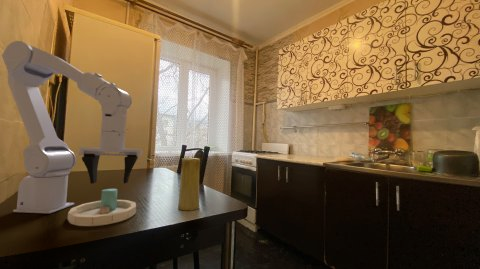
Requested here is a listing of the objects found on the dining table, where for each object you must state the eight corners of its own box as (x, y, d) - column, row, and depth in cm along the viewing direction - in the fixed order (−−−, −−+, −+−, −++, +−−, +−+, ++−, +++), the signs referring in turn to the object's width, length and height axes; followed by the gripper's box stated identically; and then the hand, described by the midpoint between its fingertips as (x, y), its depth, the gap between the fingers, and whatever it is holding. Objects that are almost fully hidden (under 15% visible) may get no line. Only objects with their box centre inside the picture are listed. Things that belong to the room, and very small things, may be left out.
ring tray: (51, 224, 46) (52, 215, 46) (96, 205, 60) (96, 198, 60) (115, 227, 46) (115, 218, 46) (144, 207, 60) (145, 200, 60)
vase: (194, 212, 58) (196, 160, 59) (173, 209, 59) (176, 158, 60) (202, 205, 64) (204, 158, 65) (183, 203, 65) (186, 157, 66)
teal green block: (97, 210, 55) (98, 191, 55) (106, 206, 58) (107, 188, 58) (110, 211, 54) (112, 192, 55) (119, 207, 58) (120, 189, 58)
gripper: (75, 129, 51) (70, 186, 51) (140, 133, 55) (136, 185, 55) (87, 131, 58) (83, 180, 57) (144, 133, 62) (141, 180, 62)
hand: (109, 182), depth 57 cm, fingers open, 7 cm apart
